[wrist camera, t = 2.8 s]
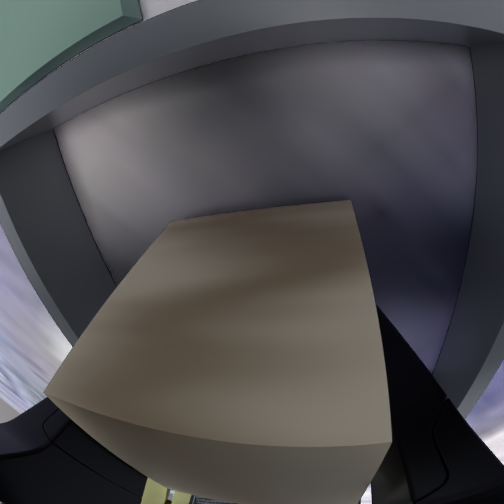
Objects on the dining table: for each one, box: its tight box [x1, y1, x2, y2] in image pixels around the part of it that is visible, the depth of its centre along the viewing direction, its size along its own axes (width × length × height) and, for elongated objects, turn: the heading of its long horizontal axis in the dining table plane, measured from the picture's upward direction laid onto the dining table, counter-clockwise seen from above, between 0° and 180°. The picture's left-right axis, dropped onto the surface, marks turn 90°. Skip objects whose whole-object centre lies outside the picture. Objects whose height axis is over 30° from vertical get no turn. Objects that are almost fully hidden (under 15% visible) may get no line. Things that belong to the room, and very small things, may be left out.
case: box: [0, 0, 504, 419], centre depth 8 cm, size 15×15×3 cm
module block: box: [43, 200, 392, 504], centre depth 7 cm, size 5×5×6 cm
